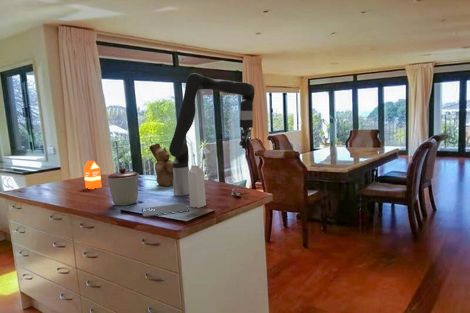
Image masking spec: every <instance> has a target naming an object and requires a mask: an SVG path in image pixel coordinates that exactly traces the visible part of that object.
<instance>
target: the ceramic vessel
mask: <svg viewBox="0 0 470 313" xmlns="http://www.w3.org/2000/svg"><path fill="white" fill-rule="evenodd" d="M148 148H149V151H150V152H151V153H152V155H153V157H154V158H155V160H156V163H155V165H154V170H155V173H156V179H155V180H156V183H157V184H158V185H159V186H162V187H165V186H166V187H169V186H170V187H171V186H173V180H174V175H173V162H174V161H171V160H170V157H171V156H170V155H171V154H170V152H168V151H169V150H167V149H166V147H163V148H162V147H161V144H160V143H159V142H158V143H153V144H151V145H150V146H149V147H148Z"/></svg>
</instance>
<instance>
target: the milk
mask: <svg viewBox="0 0 470 313" xmlns="http://www.w3.org/2000/svg"><path fill="white" fill-rule="evenodd" d="M188 181H189V194H188V195H189V205H190V208H195V207H197V208H196V209H200V208H203V207H205V206H206V205H207V202H206V190H205V189H206V187H205V174H204V170H203V169H201V167H200V165H191V167H190V169H188Z"/></svg>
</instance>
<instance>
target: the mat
mask: <svg viewBox="0 0 470 313" xmlns="http://www.w3.org/2000/svg"><path fill="white" fill-rule="evenodd" d="M144 208H145V209H146V211H144V212H142V211H141V212H142V217H143V218H149V217H155V216H154V215H157V216H159V215H158V214H164V213H172V212H180V211H187V210H190V208H189V206H187V205H186V203H185V202H182V203H175V204H174V203H173V204H165V205H160V206H158V205H157V206H150V207H144ZM149 208H150V210H151V209H153V210H154V209H155V211H153V210H152V211H149V210H147V209H149ZM187 212H188V211H187ZM180 213H181V212H180ZM172 214H173V213H172Z"/></svg>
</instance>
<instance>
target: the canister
mask: <svg viewBox="0 0 470 313" xmlns="http://www.w3.org/2000/svg"><path fill="white" fill-rule="evenodd" d="M118 170H119V172H114V173H111V174H109V175H108V176H106V177H105V178H106V179H107V182H108V186H109V187H108V188H109V191H110V195H111V200H112V202H113V205H115V206H118V207H119V206H120V207H123V206H130V205H133V204H135V203H137V201H138V199H139V198H138V196H139V176H140V173H138V172H136V171H127V170H126V168H125V167H120V168H119V169H118Z"/></svg>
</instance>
